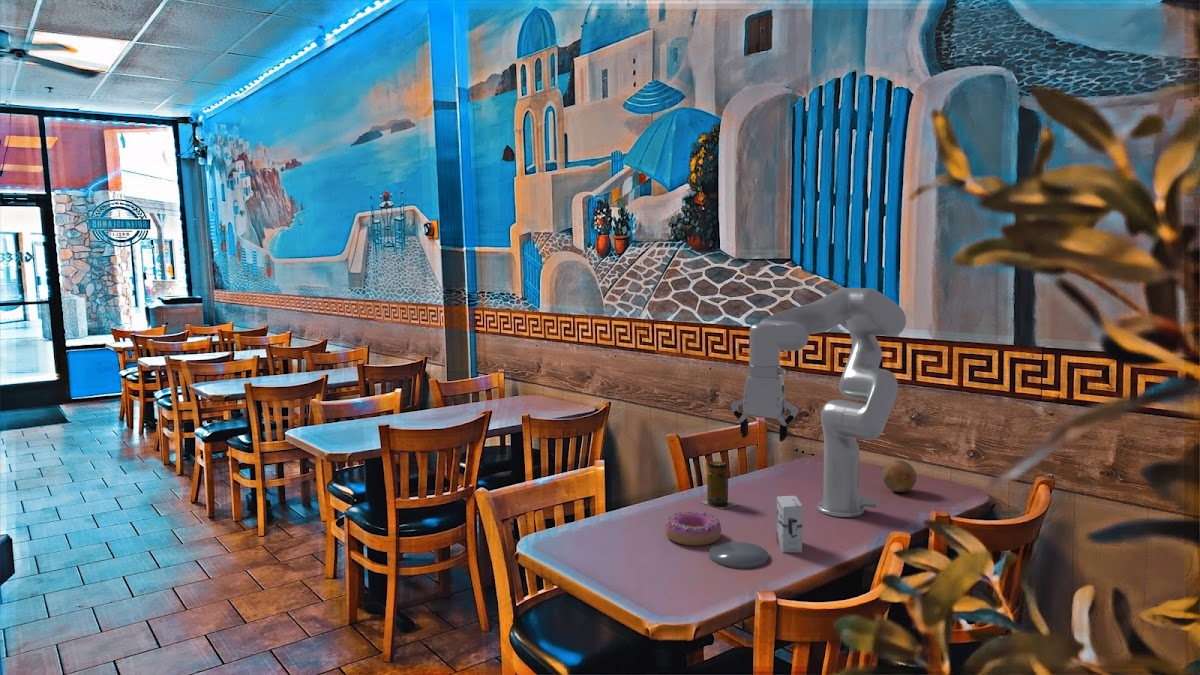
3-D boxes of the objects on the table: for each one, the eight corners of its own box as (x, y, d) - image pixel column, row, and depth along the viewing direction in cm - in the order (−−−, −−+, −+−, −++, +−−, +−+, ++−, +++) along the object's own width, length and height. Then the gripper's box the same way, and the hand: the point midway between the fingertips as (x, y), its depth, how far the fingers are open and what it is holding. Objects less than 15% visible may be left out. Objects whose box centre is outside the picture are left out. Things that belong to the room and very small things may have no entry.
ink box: (775, 539, 192) (775, 495, 191) (794, 539, 192) (795, 495, 191) (782, 553, 184) (783, 506, 182) (802, 553, 183) (803, 506, 182)
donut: (716, 550, 186) (716, 531, 186) (660, 545, 190) (660, 525, 190) (724, 530, 200) (724, 512, 199) (671, 525, 204) (671, 507, 203)
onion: (923, 494, 227) (924, 461, 226) (898, 498, 223) (899, 465, 222) (899, 485, 236) (900, 454, 235) (874, 489, 232) (875, 457, 231)
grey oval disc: (768, 547, 187) (768, 543, 187) (768, 570, 173) (768, 566, 173) (711, 543, 190) (711, 540, 190) (707, 565, 176) (707, 561, 176)
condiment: (717, 497, 227) (717, 458, 225) (738, 504, 220) (739, 464, 219) (700, 503, 222) (700, 463, 221) (722, 510, 215) (722, 469, 214)
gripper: (802, 372, 190) (800, 438, 192) (735, 368, 198) (735, 432, 200) (795, 376, 183) (794, 445, 185) (726, 372, 191) (726, 438, 193)
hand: (763, 438), depth 192 cm, fingers open, 9 cm apart
